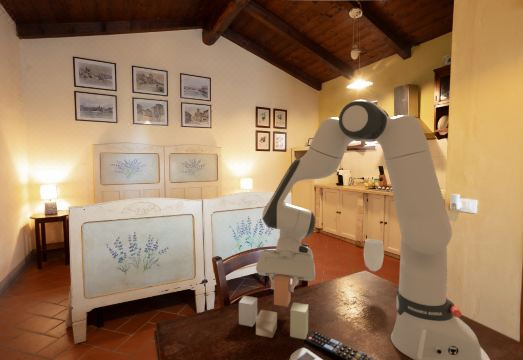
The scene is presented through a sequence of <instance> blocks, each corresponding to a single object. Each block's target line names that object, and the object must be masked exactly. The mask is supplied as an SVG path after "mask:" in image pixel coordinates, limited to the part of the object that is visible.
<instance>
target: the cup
mask: <svg viewBox="0 0 523 360" xmlns="http://www.w3.org/2000/svg"><path fill="white" fill-rule="evenodd" d="M384 258H385V247H384V242H383V241H382V240H381V239H377V238H366V239H365V241H364V246H363V260H364V261H363V262H364V265H365V267H366V268H368V270H369V271H371V272H377V271H378V270H380V269H381V268H382V266H383V262H384Z"/></svg>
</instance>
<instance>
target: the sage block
mask: <svg viewBox="0 0 523 360" xmlns="http://www.w3.org/2000/svg"><path fill="white" fill-rule="evenodd" d="M289 311H290V313H289V315H290V322H289V323H290V325H289V327H290V328H289V329H290V330H289V332H290V333H289V336H290V338H295V339H301V340H305V339H306V340H307V335H308V333H309V304H306V303H299V302H293V303H292V305H291V307H290V310H289Z"/></svg>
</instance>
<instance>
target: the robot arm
mask: <svg viewBox="0 0 523 360" xmlns="http://www.w3.org/2000/svg"><path fill="white" fill-rule="evenodd" d="M353 142H367V143H368V142H369V143H370V142H371V143H372V142H378V144H379V145H380V146H381V149H382V153H383V156H384V157H383V158H384V160H385V166H386V169H387V174H388V177H389V181H390V186H391V190H392V195H393V196H392V197H393V203H394V207H395V211H396V217H397V221H398V222H397V223H398V224H399V231H400V234H401V239H400V256H399V257H400V260H399V281H398V290H396V291H397V292H396V297H395V299H396V300H395V301H396V302H395V305H396V311H397V312H396V318H395V324H394V326H393V327H394V328H393V330H392V332H391V335H390V339H391V340H390V341H391V343H392V344H393V346H394V347H395V348H396V349H397V350H398V351H400V352H401V353H402V354H404V355H405V356H407V357H409V358H410V359H412V360H491V359H490V357H489V356H488V354H487V353H486V351H485V350H484V349H483V347H481V345H480V343H479V339H478V337H477V335H476V334H475V332H474V331H473V329H471V327H470V326H469V325H468V324H466V323H465V322H464V321H463V320H462V319H460V318H461V317H462V316H463V314H462V312H461V311H462V310H460V308H459V307H457V306H455V304H454V303H453V301H451V300H450V299H449V298H448V297H447V289H448V288H447V287H448V285H447V284H448V259H447V258H448V257H447V255H448V253H447V249H448V248H447V246H448V245H450V242H451V240H452V235H453V229H452V225H451V221H450V219H449V214H448V210H447V207H446V202H445V201H444V197H443V193H442V190H441V187H440V183H439V181H438V176H437V172H436V168H435V164H434V162H433V156H432V152H431V149H430V147H429V146H430V145H429V143H428V140H427V137H426V135H425V132H424V130H423V127H422V126H421V124H420V121H419V120H418V118H416V117H415V116H413V115H408V114H401V115H397V116H396V115H395V116H392V117H391V116H390V115H389V114H388V112H387V111H386V110H384V109H383V108H382V107H381V106H380V105H378V104H377V103H374V102H371V101H368V100H365V99H356V100H353V101H351V102H349V103H347V104H346V105H345V106H344V107H343V108H342V109H341V110H340V113H339V117H327V118H325V119H323V121H322V122H321V123H320V124H319V126H318V128H317V130H316V132H315V133H314V135H313V137H312V140H311V142H310V145H309V147H308V149H307V151H306V152H305V154H304V155H303V156H302V157H301V158H298V159H294V161H292V163H291V164H290V166H289V167H288V168H287V170H286V171H285V174H284V176H283V177H282V179H281V181H280V182H279V184H278V186H277V187H276V189H275V191H274V193H273V195H272V196H271V198H270V199H269V201H268V202H267V203H266V205H265V206H264V209H263V211H262V217H261V219H262V220H263V223H264V224H265V226H266V227H267V228H271V229H273V230H274V229H275V230H279V238H278V240H277V242H276V248H275V249H267V248H266V249H263V250H261V251H260V252H259V255H258V260H257V262H256V267H255V271H256V272H257V274H258V275H259V276H267V277H269V280H270V282H271V284H270V289H271V290H274V280H275V278H276V277H277V275H280V276H289V277H290V280H293V282H291V283H292V284H290V285H289V288H288V291H289V292H292V293H294V291H295V290H294V289H295V287H296V285H298V283H299V280H300V281H307V282H313V281H314V280H315V279H316V268H315V267H316V266H315V262H314V261H315V260H314V253H313V251H312V249H311V248H309V247H307V246H305V245H303V244H302V240H303V239H306V238H308V237H309V236H311V235H313V233H314V230H315V226H316V217H315V215H314V214H315V213H314V212H313V211H312V210H310V209H307V208H305V207H301V206H297V205H294V204H291V203H287V202H285V200H286V199H287V196H288V195H289V194H290V191H291V190H292V189H293V186H294V185H295V184H296V183H299V182H300V181H306V180H320V179H326V178H328V177H330V176H332V175H334V173H336V172H337V170H338V168H339V166H340V164H341V162H342V160H343V157H344V154H345V153H346V150H347V148H348V146H349V145H350V144H351V143H353Z"/></svg>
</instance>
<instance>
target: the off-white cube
mask: <svg viewBox="0 0 523 360" xmlns="http://www.w3.org/2000/svg"><path fill="white" fill-rule="evenodd" d="M277 329H278V312H277V311H276V312H275V311H271V310H266V309H260V311H259V313H257V317H256V322H255V335H257V336H261V337H266V338H270V339H271V338H273V337H274V336H275V333H276V330H277Z"/></svg>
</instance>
